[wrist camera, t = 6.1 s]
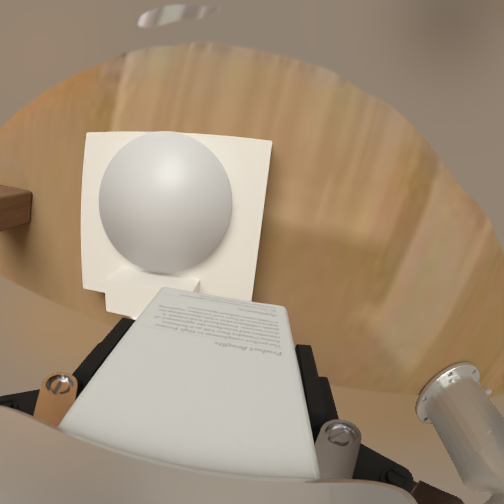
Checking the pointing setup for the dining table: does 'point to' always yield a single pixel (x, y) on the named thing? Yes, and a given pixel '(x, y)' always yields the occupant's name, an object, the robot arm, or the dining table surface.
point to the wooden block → (14, 207)
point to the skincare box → (203, 389)
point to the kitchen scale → (171, 215)
